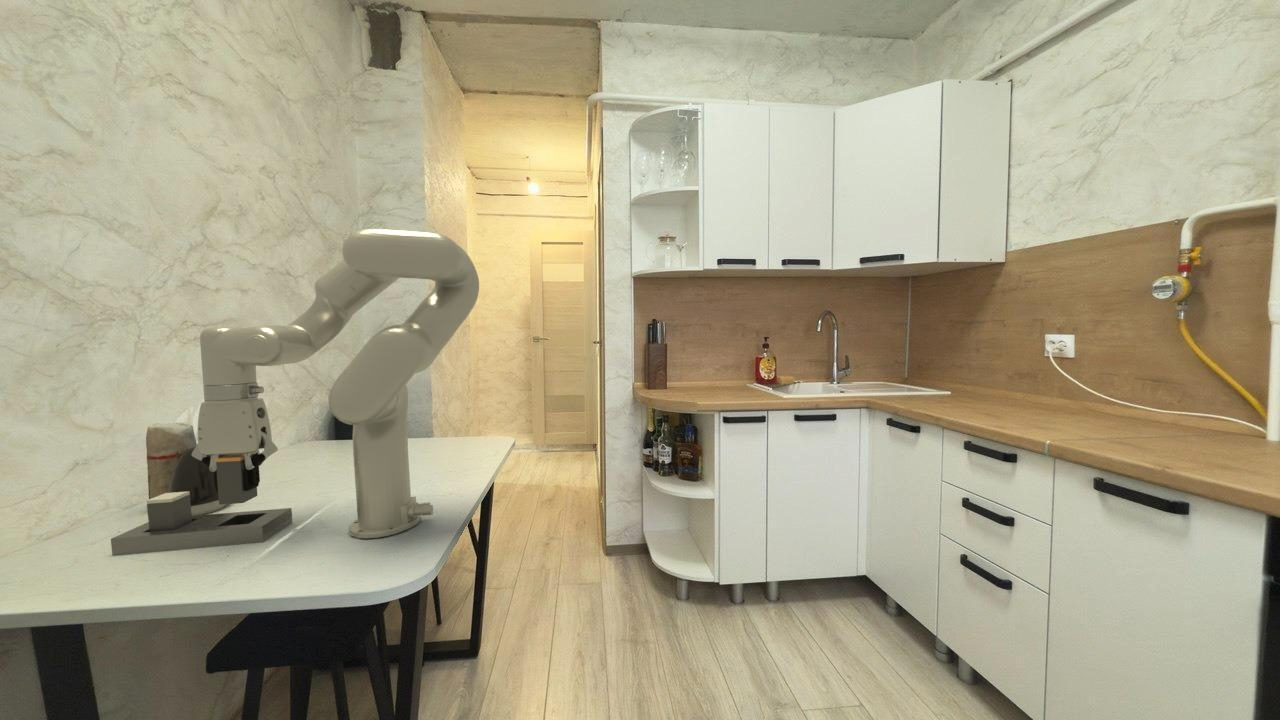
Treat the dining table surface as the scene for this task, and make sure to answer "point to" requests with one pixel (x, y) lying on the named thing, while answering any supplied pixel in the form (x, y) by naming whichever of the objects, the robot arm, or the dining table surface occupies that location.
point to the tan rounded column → (165, 453)
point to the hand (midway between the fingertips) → (237, 488)
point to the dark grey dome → (195, 483)
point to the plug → (232, 480)
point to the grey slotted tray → (205, 532)
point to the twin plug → (169, 511)
